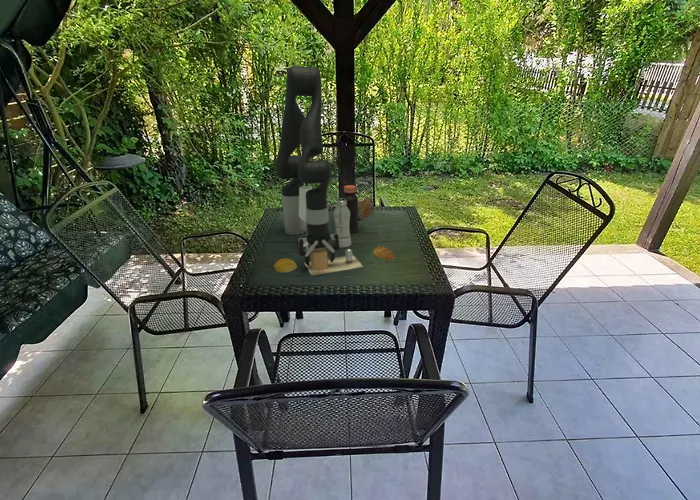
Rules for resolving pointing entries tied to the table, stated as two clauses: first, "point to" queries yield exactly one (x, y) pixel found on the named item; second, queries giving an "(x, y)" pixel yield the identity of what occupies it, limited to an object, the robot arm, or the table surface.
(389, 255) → the pastry
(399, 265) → the table surface
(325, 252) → the cap
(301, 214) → the champagne flute
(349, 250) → the post
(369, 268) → the table surface
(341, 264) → the board
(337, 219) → the plastic bottle
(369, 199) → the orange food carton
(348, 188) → the vinegar
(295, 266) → the bread roll
